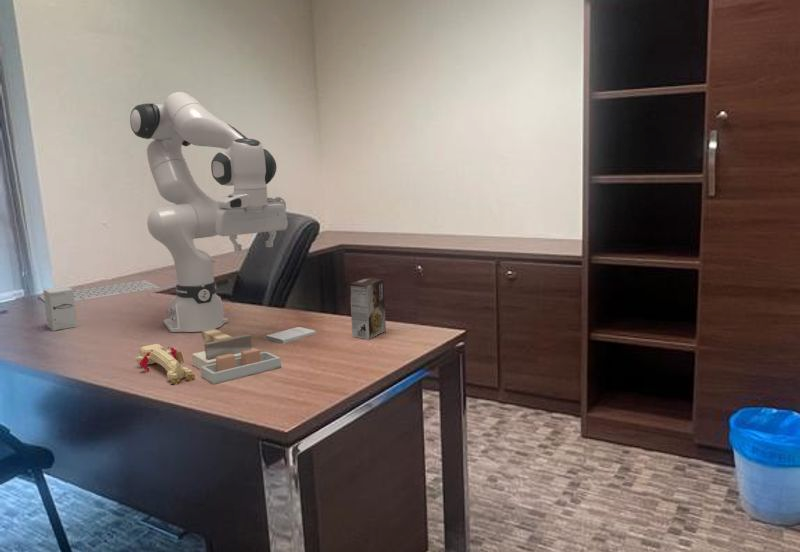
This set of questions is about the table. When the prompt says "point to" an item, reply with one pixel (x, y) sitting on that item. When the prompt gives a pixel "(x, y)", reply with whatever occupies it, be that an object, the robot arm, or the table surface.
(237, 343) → the scraper
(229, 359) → the tile
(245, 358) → the tile
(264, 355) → the tray
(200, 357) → the board
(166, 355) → the beige long curved piece
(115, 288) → the computer keyboard
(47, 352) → the table surface
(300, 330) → the external hard drive
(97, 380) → the table surface
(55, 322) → the supplement box
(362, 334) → the coffee box
